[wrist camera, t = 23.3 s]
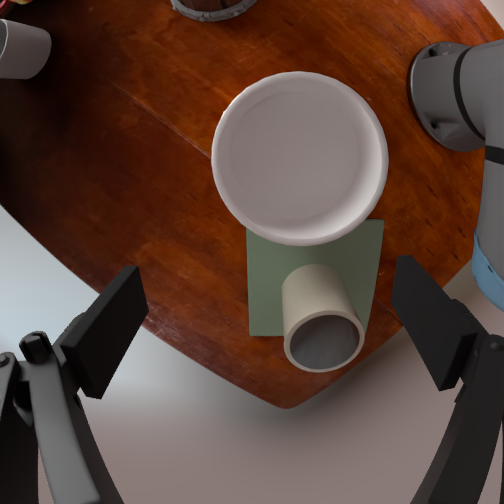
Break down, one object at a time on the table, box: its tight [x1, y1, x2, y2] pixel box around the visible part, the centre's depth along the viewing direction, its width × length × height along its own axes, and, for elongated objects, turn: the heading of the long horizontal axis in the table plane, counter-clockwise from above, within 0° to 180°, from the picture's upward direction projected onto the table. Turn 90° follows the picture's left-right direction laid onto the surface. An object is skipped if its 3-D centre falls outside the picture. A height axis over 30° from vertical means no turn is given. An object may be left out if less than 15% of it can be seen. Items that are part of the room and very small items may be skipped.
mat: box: [246, 219, 385, 336], centre depth 42 cm, size 18×18×1 cm
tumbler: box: [281, 264, 365, 372], centre depth 37 cm, size 11×9×9 cm
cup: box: [0, 19, 52, 79], centre depth 25 cm, size 8×8×10 cm
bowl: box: [211, 71, 389, 246], centre depth 31 cm, size 17×17×8 cm
